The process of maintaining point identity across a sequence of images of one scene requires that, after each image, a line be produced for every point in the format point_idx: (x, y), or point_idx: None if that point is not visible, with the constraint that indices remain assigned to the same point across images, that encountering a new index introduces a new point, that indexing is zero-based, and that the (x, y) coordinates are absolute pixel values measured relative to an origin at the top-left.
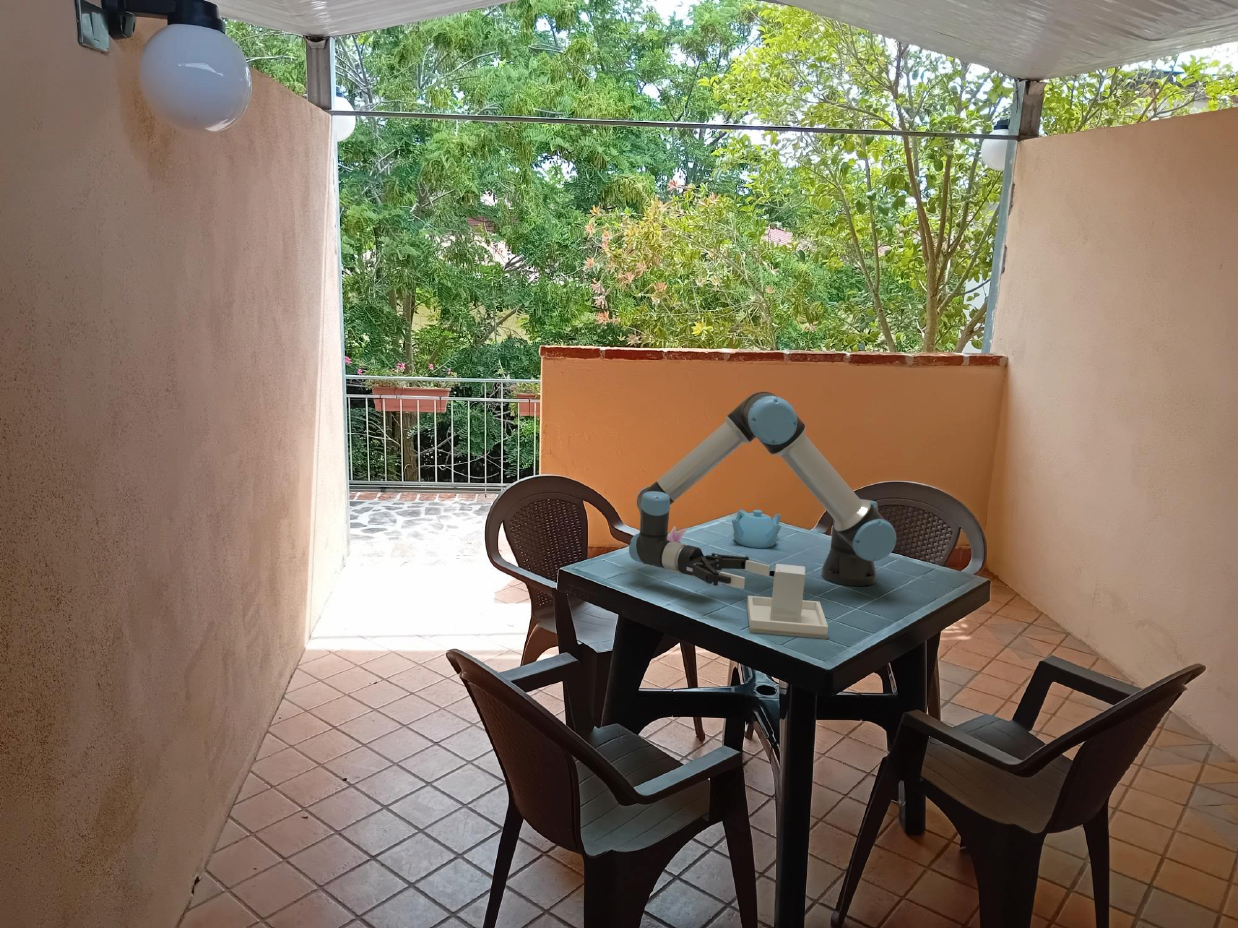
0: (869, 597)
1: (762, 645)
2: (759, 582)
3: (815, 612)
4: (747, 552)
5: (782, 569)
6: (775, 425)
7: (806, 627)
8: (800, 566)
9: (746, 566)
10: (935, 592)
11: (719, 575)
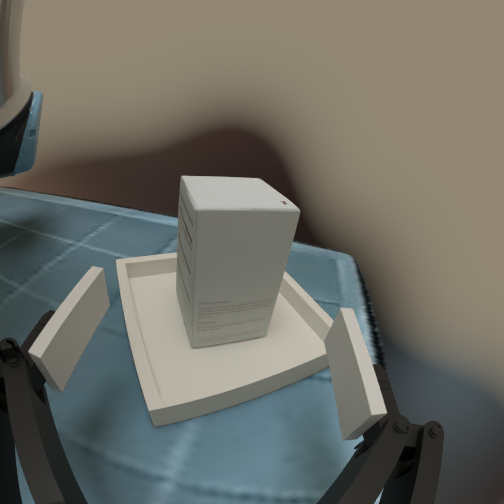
0: (26, 235)
1: (369, 323)
2: None
3: (142, 277)
4: None
5: (263, 198)
6: None
7: None
8: (187, 179)
9: (56, 373)
10: (13, 200)
11: (389, 413)
